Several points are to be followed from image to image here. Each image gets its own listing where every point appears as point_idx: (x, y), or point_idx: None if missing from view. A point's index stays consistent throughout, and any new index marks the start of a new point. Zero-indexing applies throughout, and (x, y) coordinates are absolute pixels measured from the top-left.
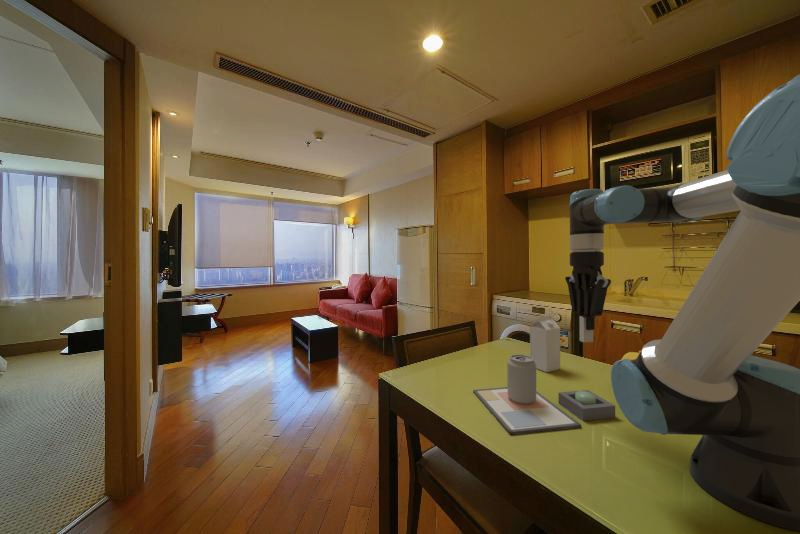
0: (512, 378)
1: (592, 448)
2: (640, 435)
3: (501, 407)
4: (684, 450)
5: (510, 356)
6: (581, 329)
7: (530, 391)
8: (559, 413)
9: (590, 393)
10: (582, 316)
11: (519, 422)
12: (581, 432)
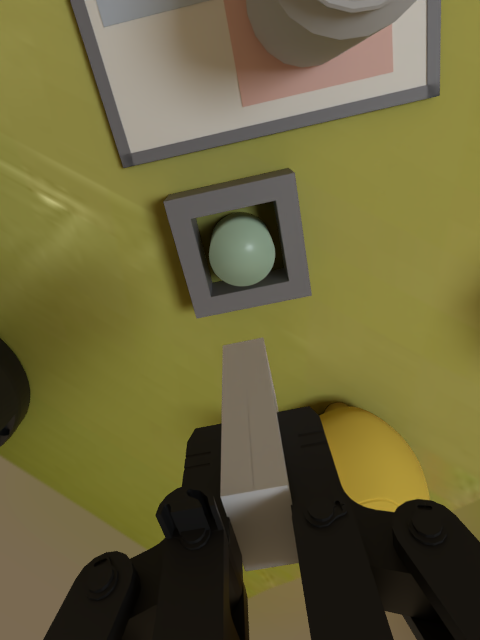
0: None
1: (11, 139)
2: (111, 311)
3: None
4: (64, 363)
5: None
6: (247, 394)
7: (249, 1)
8: (193, 125)
9: (254, 279)
10: (200, 491)
11: None
12: (96, 152)
